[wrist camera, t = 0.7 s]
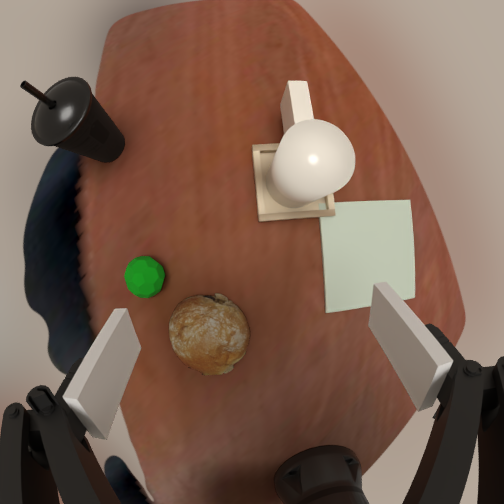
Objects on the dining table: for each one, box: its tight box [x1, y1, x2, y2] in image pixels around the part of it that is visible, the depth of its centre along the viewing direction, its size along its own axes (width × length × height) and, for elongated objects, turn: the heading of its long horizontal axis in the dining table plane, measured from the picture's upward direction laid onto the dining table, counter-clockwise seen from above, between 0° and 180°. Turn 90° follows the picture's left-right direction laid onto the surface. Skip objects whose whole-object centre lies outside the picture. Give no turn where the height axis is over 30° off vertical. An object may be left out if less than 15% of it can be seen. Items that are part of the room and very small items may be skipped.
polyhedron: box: [124, 256, 165, 298], centre depth 33 cm, size 5×5×5 cm
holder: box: [252, 143, 336, 222], centre depth 35 cm, size 9×9×2 cm
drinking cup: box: [20, 77, 125, 162], centre depth 24 cm, size 8×8×20 cm
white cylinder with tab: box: [266, 81, 355, 208], centre depth 29 cm, size 13×7×12 cm, turn 5°
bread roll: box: [169, 294, 250, 375], centre depth 34 cm, size 10×10×8 cm
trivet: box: [319, 200, 415, 313], centre depth 36 cm, size 14×14×1 cm
